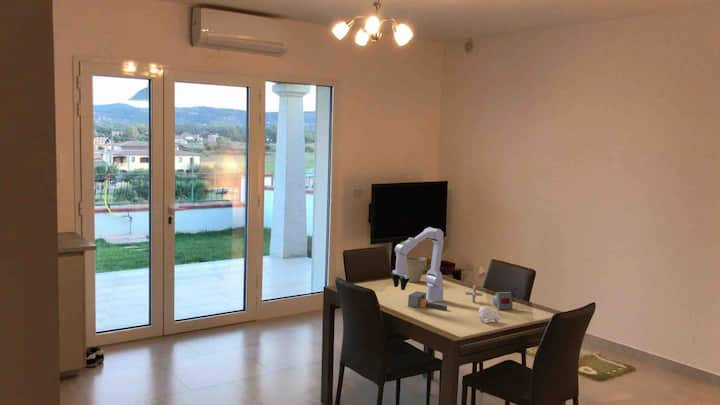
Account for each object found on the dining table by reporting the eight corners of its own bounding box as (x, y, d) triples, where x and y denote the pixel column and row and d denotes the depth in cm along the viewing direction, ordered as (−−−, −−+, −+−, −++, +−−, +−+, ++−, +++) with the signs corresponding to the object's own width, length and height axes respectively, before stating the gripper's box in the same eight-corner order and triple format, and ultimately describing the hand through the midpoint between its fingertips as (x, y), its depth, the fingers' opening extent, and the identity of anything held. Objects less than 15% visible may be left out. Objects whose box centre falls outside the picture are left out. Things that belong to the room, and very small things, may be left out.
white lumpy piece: (478, 304, 326) (498, 306, 329) (475, 320, 326) (496, 321, 329) (483, 307, 320) (504, 309, 322) (480, 323, 320) (501, 325, 323)
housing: (425, 303, 356) (426, 292, 356) (417, 307, 346) (418, 296, 345) (416, 301, 359) (416, 291, 359) (407, 306, 349) (408, 295, 348)
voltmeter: (508, 312, 347) (509, 295, 346) (489, 308, 352) (490, 292, 352) (521, 303, 370) (522, 287, 369) (502, 300, 375) (503, 284, 375)
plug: (447, 309, 346) (447, 302, 345) (444, 311, 342) (445, 304, 342) (421, 304, 353) (421, 298, 353) (418, 306, 350) (419, 299, 349)
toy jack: (482, 305, 360) (483, 288, 359) (464, 303, 362) (466, 286, 361) (482, 300, 370) (483, 284, 369) (465, 299, 372) (466, 283, 371)
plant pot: (427, 281, 418) (428, 258, 416) (420, 285, 404) (421, 261, 403) (406, 278, 424) (408, 255, 423) (399, 281, 410) (400, 258, 409)
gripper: (388, 262, 352) (387, 285, 353) (401, 267, 339) (400, 291, 340) (398, 262, 355) (397, 285, 356) (412, 267, 342) (410, 290, 344)
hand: (399, 288), depth 349 cm, fingers open, 7 cm apart
